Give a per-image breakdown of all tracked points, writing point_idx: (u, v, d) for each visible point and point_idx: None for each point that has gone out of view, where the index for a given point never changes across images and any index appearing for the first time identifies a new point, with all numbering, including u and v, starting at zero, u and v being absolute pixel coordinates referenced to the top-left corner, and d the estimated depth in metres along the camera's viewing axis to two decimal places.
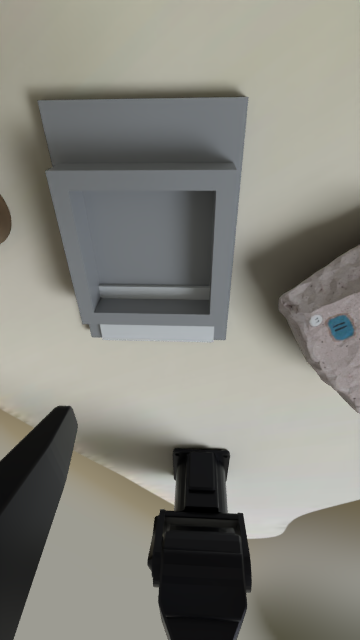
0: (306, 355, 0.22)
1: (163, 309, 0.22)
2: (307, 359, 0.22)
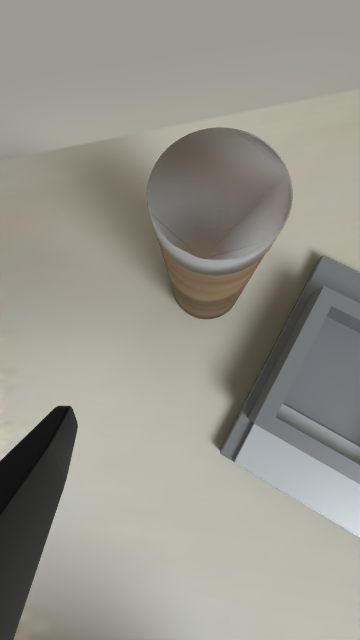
0: None
1: (342, 455, 0.19)
2: None
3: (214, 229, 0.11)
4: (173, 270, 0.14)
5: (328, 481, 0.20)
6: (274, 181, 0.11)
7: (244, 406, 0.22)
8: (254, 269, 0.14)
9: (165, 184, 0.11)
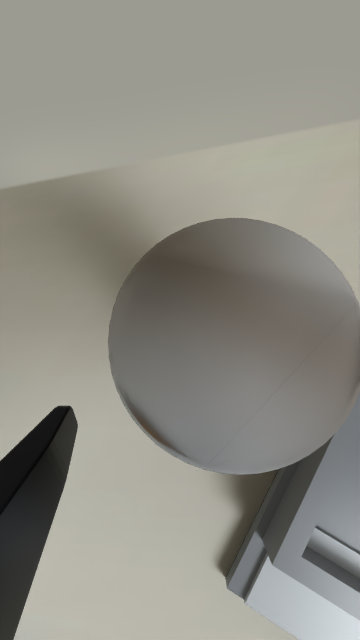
0: None
1: None
2: None
3: (227, 409, 0.06)
4: None
5: None
6: (333, 319, 0.06)
7: (257, 522, 0.17)
8: None
9: (140, 320, 0.06)
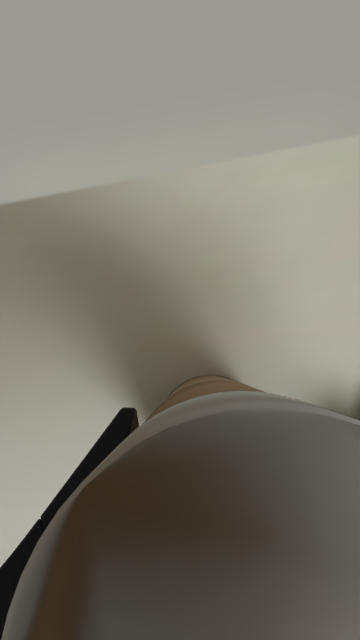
0: None
1: None
2: None
3: None
4: None
5: None
6: None
7: None
8: None
9: None
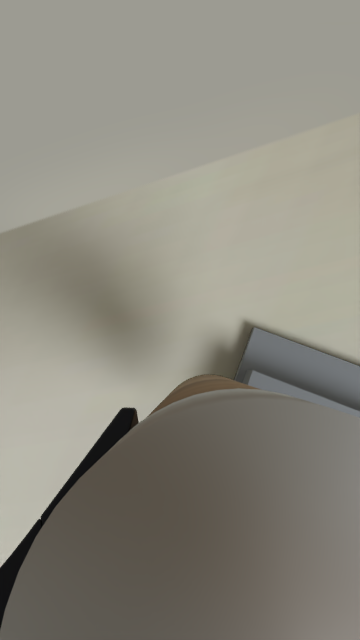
0: None
1: None
2: None
3: None
4: None
5: None
6: None
7: None
8: None
9: None
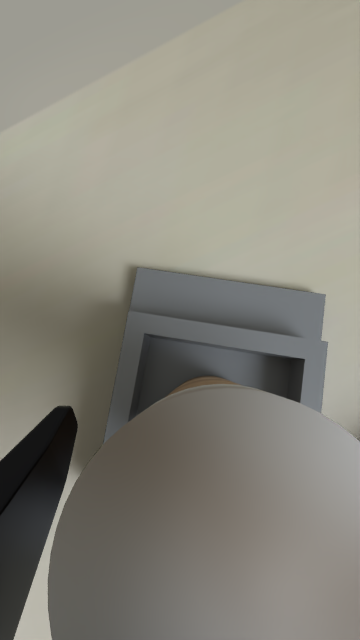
0: None
1: None
2: None
3: None
4: None
5: None
6: None
7: None
8: None
9: (96, 550, 0.04)
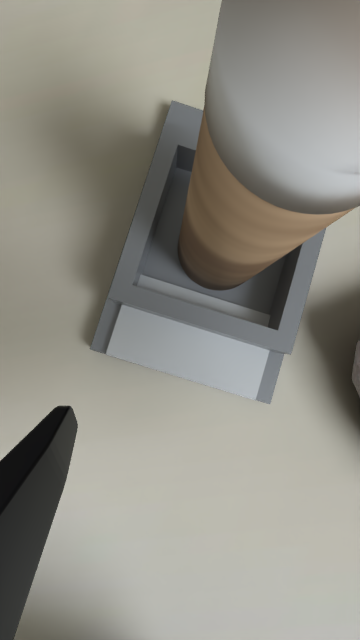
0: None
1: None
2: None
3: (338, 112, 0.06)
4: (211, 202, 0.09)
5: (213, 350, 0.18)
6: None
7: None
8: None
9: (256, 6, 0.06)
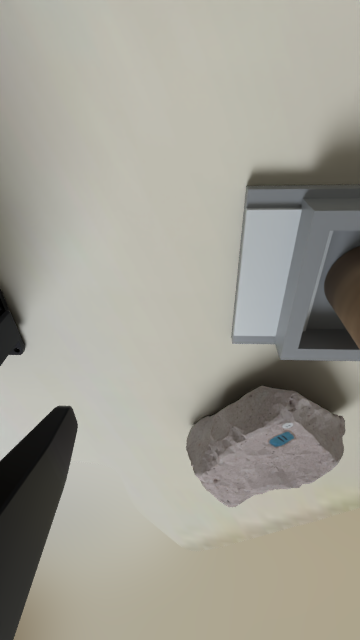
0: (239, 424, 0.25)
1: None
2: (235, 426, 0.25)
3: None
4: None
5: (268, 299, 0.21)
6: None
7: (313, 187, 0.17)
8: None
9: None
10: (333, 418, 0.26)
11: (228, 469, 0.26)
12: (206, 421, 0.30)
